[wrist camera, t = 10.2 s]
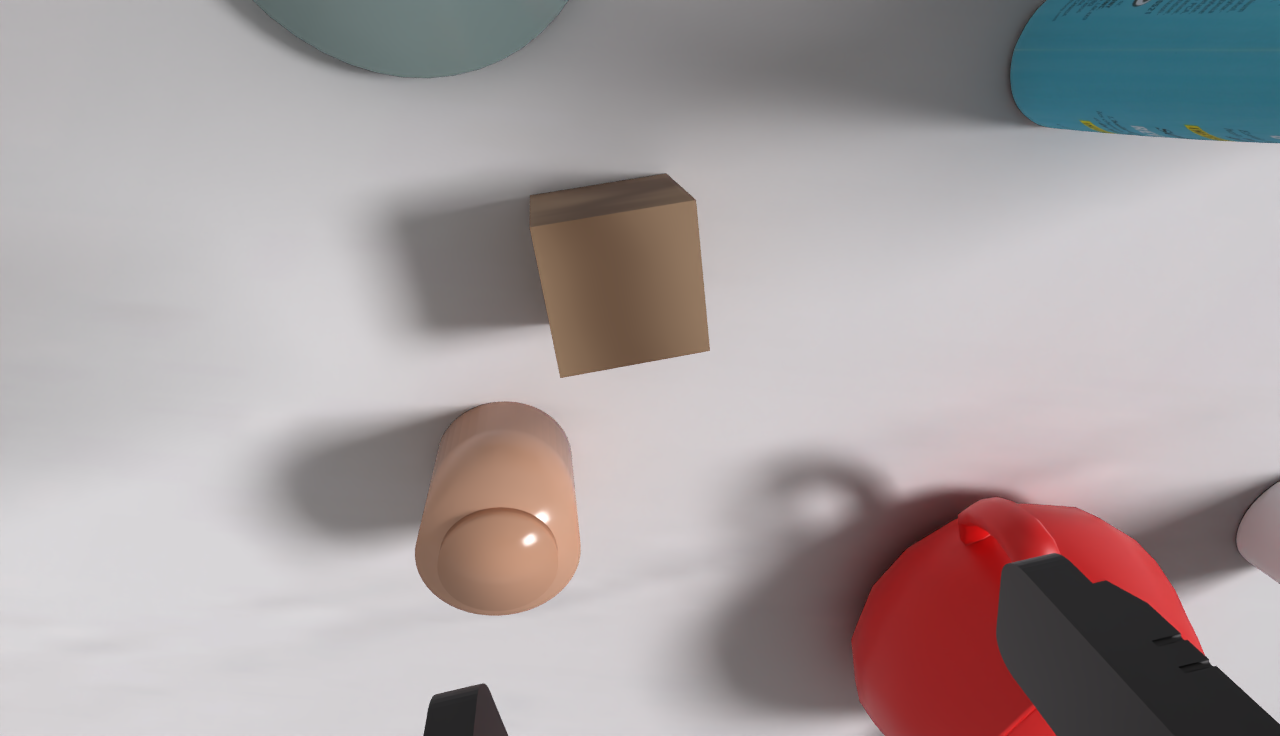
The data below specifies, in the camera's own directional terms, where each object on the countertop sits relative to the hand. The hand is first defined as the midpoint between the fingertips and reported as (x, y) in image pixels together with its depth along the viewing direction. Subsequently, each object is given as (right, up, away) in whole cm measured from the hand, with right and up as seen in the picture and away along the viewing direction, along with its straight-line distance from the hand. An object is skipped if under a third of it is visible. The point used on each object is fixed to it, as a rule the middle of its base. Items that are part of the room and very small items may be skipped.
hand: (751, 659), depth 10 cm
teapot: (+16, -8, +26) cm, 32 cm away
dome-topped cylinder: (-7, +1, +18) cm, 20 cm away
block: (-3, +9, +15) cm, 18 cm away
